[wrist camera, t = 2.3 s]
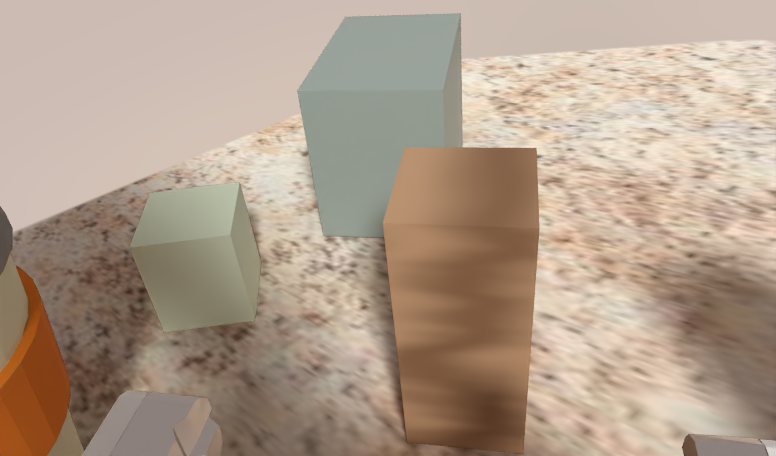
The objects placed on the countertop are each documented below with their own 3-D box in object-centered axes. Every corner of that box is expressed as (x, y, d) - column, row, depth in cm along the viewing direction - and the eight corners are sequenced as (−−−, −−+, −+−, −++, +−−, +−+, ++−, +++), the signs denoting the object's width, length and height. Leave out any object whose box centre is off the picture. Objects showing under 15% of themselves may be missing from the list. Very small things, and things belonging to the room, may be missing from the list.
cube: (164, 332, 35) (128, 247, 31) (180, 274, 39) (150, 192, 35) (255, 321, 35) (230, 235, 31) (261, 264, 39) (239, 181, 35)
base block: (323, 235, 41) (297, 90, 35) (360, 143, 50) (345, 16, 44) (448, 240, 39) (443, 89, 33) (462, 144, 49) (460, 13, 43)
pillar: (407, 442, 28) (382, 223, 21) (421, 356, 32) (404, 146, 25) (522, 453, 27) (539, 228, 20) (523, 363, 31) (536, 148, 24)
